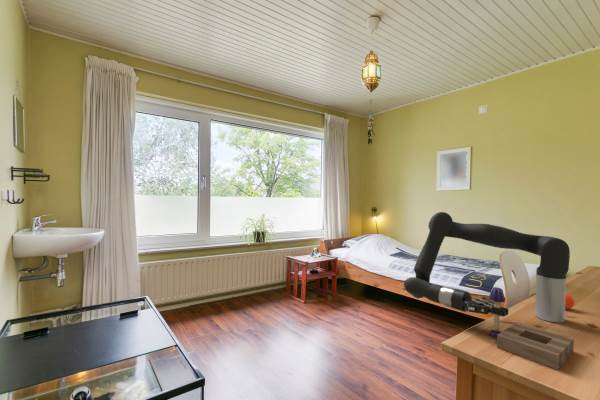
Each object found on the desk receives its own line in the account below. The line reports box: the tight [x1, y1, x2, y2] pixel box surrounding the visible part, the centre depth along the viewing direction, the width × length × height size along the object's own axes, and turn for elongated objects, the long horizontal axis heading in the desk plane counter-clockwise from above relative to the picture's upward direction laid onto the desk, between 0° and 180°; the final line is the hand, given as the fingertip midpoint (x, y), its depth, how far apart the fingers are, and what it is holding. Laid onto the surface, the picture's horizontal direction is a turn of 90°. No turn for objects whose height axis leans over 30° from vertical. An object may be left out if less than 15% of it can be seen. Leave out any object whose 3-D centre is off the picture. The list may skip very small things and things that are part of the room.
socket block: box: [496, 322, 575, 370], centre depth 93 cm, size 18×15×4 cm
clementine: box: [565, 293, 575, 310], centre depth 133 cm, size 8×7×7 cm
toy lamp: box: [488, 286, 506, 339], centre depth 102 cm, size 5×5×17 cm
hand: (506, 312), depth 100 cm, fingers closed on toy lamp
